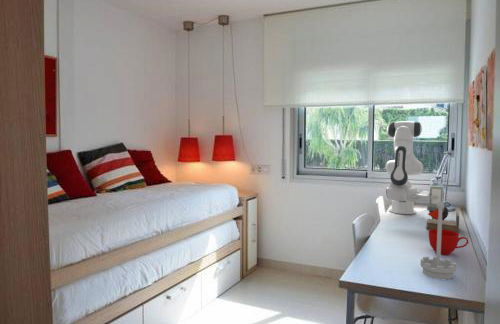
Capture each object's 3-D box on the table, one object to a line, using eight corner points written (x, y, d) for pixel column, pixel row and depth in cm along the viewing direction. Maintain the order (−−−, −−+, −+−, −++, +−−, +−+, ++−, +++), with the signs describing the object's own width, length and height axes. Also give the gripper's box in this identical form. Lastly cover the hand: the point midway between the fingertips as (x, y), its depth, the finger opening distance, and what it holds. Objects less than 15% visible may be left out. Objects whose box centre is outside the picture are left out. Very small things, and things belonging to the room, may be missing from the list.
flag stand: (444, 268, 159) (447, 198, 157) (463, 280, 146) (466, 204, 144) (414, 268, 158) (416, 198, 156) (430, 280, 145) (433, 204, 143)
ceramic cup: (467, 260, 170) (468, 238, 169) (426, 254, 178) (427, 233, 178) (467, 252, 181) (468, 232, 181) (428, 247, 190) (429, 228, 189)
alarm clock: (445, 221, 250) (446, 197, 248) (449, 222, 244) (450, 198, 243) (428, 220, 251) (429, 196, 250) (431, 222, 245) (432, 198, 244)
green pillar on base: (427, 207, 236) (428, 185, 235) (443, 209, 232) (444, 186, 231) (427, 210, 228) (428, 186, 227) (443, 211, 224) (444, 187, 223)
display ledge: (427, 224, 239) (427, 209, 238) (457, 227, 231) (458, 211, 230) (426, 229, 226) (427, 213, 226) (458, 232, 219) (459, 216, 218)
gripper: (412, 192, 226) (437, 194, 219) (414, 188, 244) (438, 189, 237) (411, 202, 226) (437, 204, 220) (414, 197, 244) (437, 199, 238)
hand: (437, 196), depth 229 cm, fingers closed on green pillar on base, 4 cm apart
